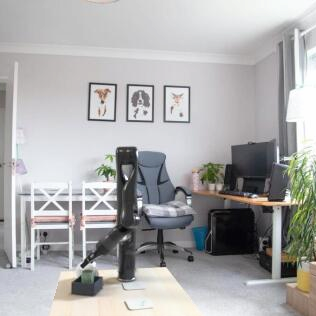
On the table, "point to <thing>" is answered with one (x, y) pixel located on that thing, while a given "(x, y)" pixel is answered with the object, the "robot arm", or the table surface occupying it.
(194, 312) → the table surface
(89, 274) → the cup
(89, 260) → the robot arm
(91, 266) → the white knot sculpture
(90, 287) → the tub
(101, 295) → the table surface
